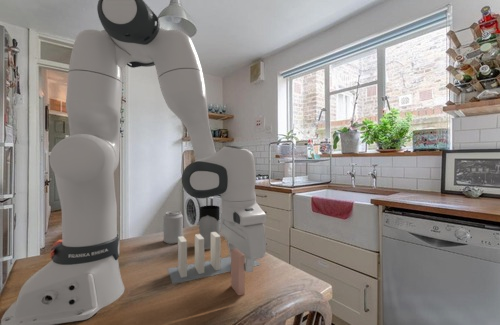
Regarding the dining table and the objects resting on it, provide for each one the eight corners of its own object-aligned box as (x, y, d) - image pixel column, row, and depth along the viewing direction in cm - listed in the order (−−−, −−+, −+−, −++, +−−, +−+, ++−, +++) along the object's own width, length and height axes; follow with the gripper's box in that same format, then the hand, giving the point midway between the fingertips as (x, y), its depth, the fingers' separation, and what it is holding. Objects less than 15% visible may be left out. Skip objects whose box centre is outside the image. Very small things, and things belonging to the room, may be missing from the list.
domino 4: (238, 297, 59) (238, 256, 59) (231, 287, 64) (231, 249, 63) (244, 295, 60) (244, 255, 60) (236, 285, 64) (236, 248, 64)
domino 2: (198, 273, 70) (198, 239, 70) (194, 266, 74) (194, 234, 74) (204, 272, 71) (204, 238, 70) (199, 265, 75) (199, 233, 75)
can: (165, 238, 101) (165, 210, 101) (183, 238, 103) (183, 209, 102) (161, 245, 94) (161, 214, 94) (182, 244, 95) (181, 213, 95)
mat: (172, 285, 64) (172, 284, 64) (167, 269, 73) (167, 268, 73) (261, 265, 76) (261, 264, 76) (247, 254, 85) (247, 253, 85)
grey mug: (195, 250, 89) (195, 209, 89) (203, 237, 103) (203, 202, 103) (219, 250, 89) (219, 209, 88) (224, 237, 103) (224, 202, 102)
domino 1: (181, 277, 68) (181, 242, 68) (178, 270, 72) (177, 236, 72) (186, 276, 68) (186, 241, 68) (183, 269, 73) (183, 236, 73)
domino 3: (215, 270, 72) (215, 237, 72) (210, 263, 77) (210, 232, 76) (220, 269, 73) (220, 236, 73) (215, 262, 77) (215, 231, 77)
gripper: (214, 204, 69) (215, 251, 70) (244, 220, 51) (246, 285, 51) (234, 201, 72) (235, 247, 73) (270, 216, 54) (271, 277, 54)
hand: (240, 263), depth 62 cm, fingers open, 8 cm apart
